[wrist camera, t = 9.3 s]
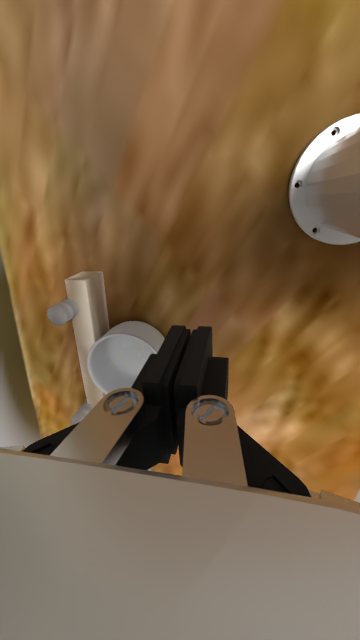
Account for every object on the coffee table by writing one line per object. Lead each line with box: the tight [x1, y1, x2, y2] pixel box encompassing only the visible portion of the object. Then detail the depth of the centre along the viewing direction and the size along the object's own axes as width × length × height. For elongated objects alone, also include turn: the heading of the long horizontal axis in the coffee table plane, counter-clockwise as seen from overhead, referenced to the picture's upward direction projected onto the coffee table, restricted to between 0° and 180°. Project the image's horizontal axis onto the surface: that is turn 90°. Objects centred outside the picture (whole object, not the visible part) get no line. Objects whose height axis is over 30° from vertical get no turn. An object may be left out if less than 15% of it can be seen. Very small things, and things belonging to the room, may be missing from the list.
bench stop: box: [47, 271, 110, 425], centre depth 41 cm, size 4×26×8 cm, turn 0°
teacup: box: [87, 321, 165, 394], centre depth 40 cm, size 14×11×8 cm
